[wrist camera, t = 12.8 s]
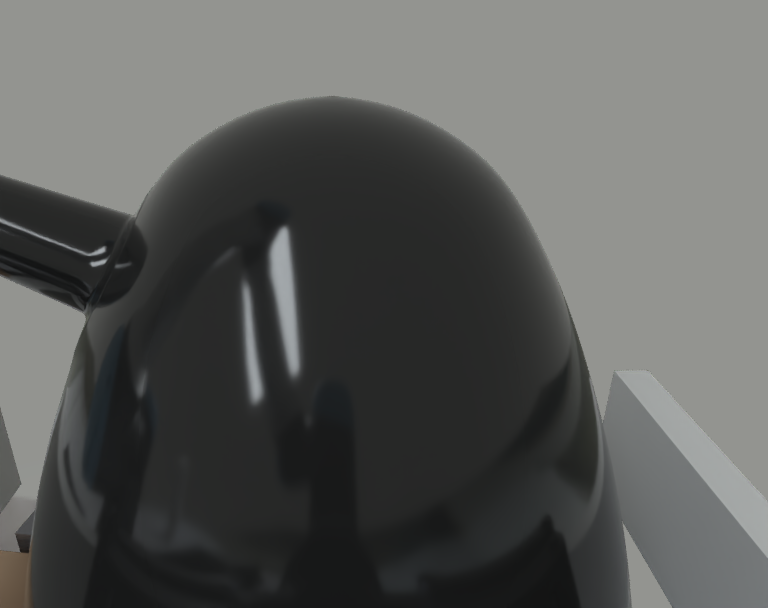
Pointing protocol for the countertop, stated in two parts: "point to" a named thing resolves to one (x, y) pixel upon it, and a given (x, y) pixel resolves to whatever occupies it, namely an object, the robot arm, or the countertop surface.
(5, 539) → the countertop surface
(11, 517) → the countertop surface
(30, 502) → the countertop surface
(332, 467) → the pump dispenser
